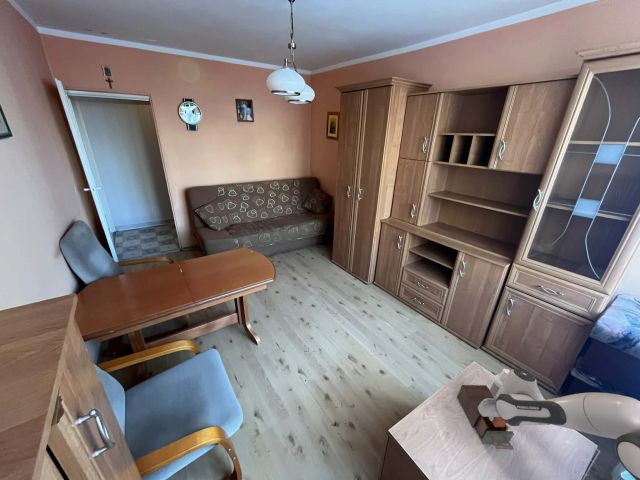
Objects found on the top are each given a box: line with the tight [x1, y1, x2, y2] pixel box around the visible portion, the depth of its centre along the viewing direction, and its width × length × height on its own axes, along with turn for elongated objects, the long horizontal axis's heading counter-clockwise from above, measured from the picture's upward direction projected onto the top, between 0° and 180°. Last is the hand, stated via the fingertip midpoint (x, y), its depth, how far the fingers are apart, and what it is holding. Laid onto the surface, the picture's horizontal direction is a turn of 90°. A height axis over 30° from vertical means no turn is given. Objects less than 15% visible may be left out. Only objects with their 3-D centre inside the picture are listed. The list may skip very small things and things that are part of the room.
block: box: [491, 417, 507, 427], centre depth 115 cm, size 4×4×4 cm
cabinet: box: [456, 384, 494, 428], centre depth 127 cm, size 15×13×10 cm
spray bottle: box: [488, 368, 511, 398], centre depth 134 cm, size 7×7×18 cm
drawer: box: [475, 416, 515, 451], centre depth 118 cm, size 18×11×8 cm, turn 1°
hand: (497, 419), depth 115 cm, fingers closed on block, 4 cm apart
